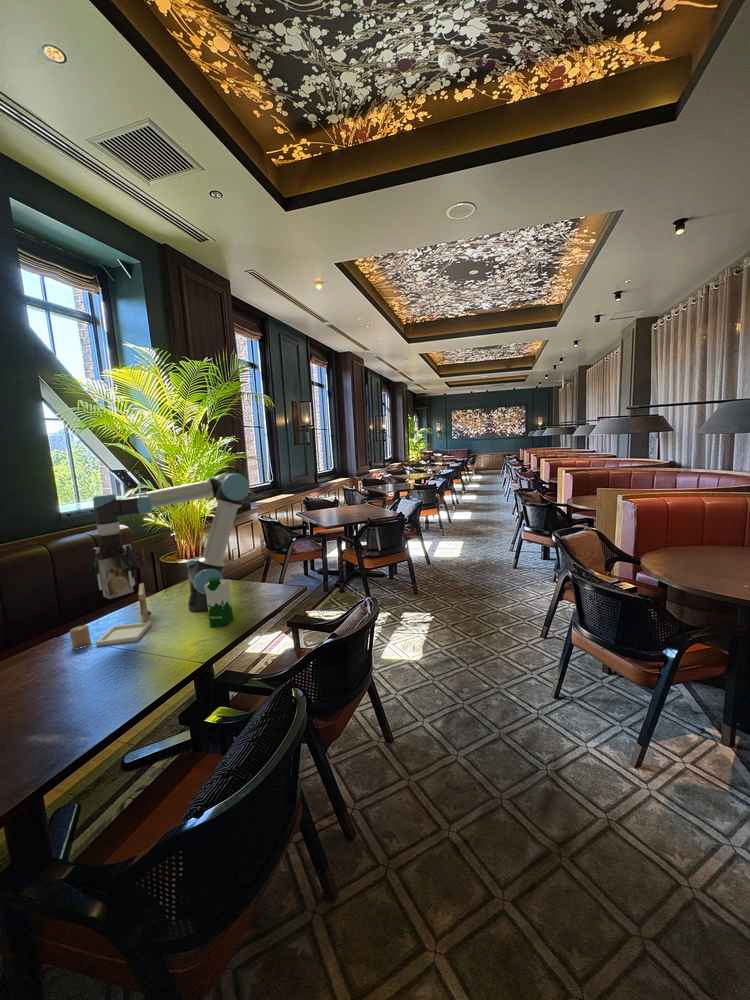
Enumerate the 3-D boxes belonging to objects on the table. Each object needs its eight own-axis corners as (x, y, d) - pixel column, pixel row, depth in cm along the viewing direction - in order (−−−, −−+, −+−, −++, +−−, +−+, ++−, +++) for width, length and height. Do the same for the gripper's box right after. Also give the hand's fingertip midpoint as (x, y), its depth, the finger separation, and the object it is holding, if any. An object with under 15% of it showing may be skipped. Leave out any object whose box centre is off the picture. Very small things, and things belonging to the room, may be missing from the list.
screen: (150, 611, 196) (146, 582, 194) (150, 624, 180) (145, 593, 178) (140, 613, 194) (136, 584, 192) (139, 627, 178) (135, 595, 176)
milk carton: (206, 628, 172) (201, 581, 169) (217, 619, 181) (211, 574, 178) (227, 627, 171) (221, 580, 168) (236, 618, 180) (231, 573, 177)
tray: (151, 625, 179) (150, 621, 179) (137, 641, 164) (137, 636, 164) (113, 630, 177) (112, 626, 176) (96, 646, 162) (95, 642, 162)
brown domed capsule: (94, 641, 167) (91, 624, 166) (86, 648, 161) (83, 630, 160) (77, 643, 166) (74, 626, 165) (69, 650, 160) (66, 632, 159)
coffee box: (127, 589, 174) (121, 551, 172) (134, 592, 170) (128, 553, 168) (102, 596, 166) (96, 557, 164) (109, 599, 163) (103, 559, 160)
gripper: (144, 528, 170) (151, 581, 173) (82, 534, 167) (90, 587, 170) (137, 532, 163) (145, 586, 166) (72, 538, 159) (81, 594, 162)
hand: (117, 587), depth 168 cm, fingers closed on coffee box, 11 cm apart
